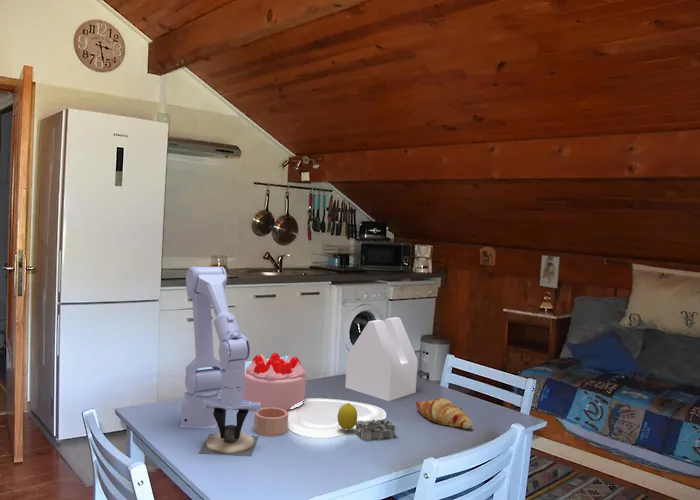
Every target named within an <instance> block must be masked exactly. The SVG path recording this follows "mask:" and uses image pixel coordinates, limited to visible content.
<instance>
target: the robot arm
mask: <svg viewBox="0 0 700 500" xmlns="http://www.w3.org/2000/svg"><path fill="white" fill-rule="evenodd" d="M227 274H228V273H227V270H226V269H225V268H224V267H223V266H222V265H221V266H190V267H189V268H188V269H187V272H186V275H185V283H186V284H185V285H186V287H185V288H186V295H187V297H188V298H190V299H191V301H192V313H193V327H194V328H193V332H194V345H195V346H194V349H195V350H194V351H195V357H194V359H193V360H192V361H191V362H190V363H188V365H186V367H185V368H186V369H185V371H186V372H185V378H184V379H185V380H184V381H185V388H186V392H184V394H183V397H182V402H181V413H180V414H181V416H180V417H181V418H180V419H181V421H180V426H179V427H180V428H185V429H186V428H187V429H203V430H204V429H205V430H206V429H207V430H215V429H216V428H217V427H218V431H219V433H220V437H221V438H222V439H223V438H224V427H225V426H226V416H227V414H226V413H227V411H237V413H236V417H235V418H236V426H237V429H236V439H239V437H240V433H242V432H241V431H242V427H243V425H244V422H245V420H246V417H247V415H248V413H249V412H254V413H255V412H260V409H261V403H259V402H252V401H246V400H243V396H244V376H245V370H246V360H248V359H249V358H250V355H251V346H250V341H249V339H248V338H247V337H246V336H245V335H244V333H241V330H240V327H239V324H238V321H237V318H236V315H235V314H234V313H231V312H230V309H229V305H228V300H227V295H226V292H225V289H226V286H227V281H228V275H227ZM212 310H213V312H214V315H215V319H213V320H214V321H213V320H212V318H213V317H212ZM212 321H213V322H212ZM213 326H214V328H215V331H216V336H217V338H218V341H219V347H218V356H219V359H218V358H217V357H215V352H214V337H213V336H214V335H213ZM203 368H205V369H203ZM219 394H220V398H219Z"/></svg>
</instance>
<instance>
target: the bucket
mask: <svg viewBox="0 0 700 500" xmlns="http://www.w3.org/2000/svg"><path fill="white" fill-rule="evenodd" d="M253 418H254V420H253V431H254V432H255V433H256V434H258V435H262V436H265V437H267V436H269V437H273V436H274V437H275V436H276V437H277V436H282V435H284V434H286V433H287V432H288V429H289V427H288V426H289V412H288V410H287V411H286V410H284V409H280V408H272V407H268V408H261V409H260V412H255V411H254V417H253Z"/></svg>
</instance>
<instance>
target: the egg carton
mask: <svg viewBox="0 0 700 500" xmlns="http://www.w3.org/2000/svg"><path fill="white" fill-rule="evenodd" d="M396 430H398V428H397V427H396V426H395V424H393V422H391V421H390V420H389V419H388V418H387V417H385V418H381V419H376V420H375V419H372V420H357V422H356V424H355V435H356V436H360V439H361V440H362V441H369V442H370V441H372V440H375V439H376V440H382V439H384V438H388V439H393V438H394V437H396Z"/></svg>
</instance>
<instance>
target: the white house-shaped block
mask: <svg viewBox="0 0 700 500" xmlns="http://www.w3.org/2000/svg"><path fill="white" fill-rule="evenodd" d="M416 355H417V354H416V353H415V350H414V347H413V345H412V343H411V340H410V338H409V336H408V333H407V331H406V329H405V326H404V324H403V321H402V319H401V317H397V316H394V317H389V318H385V319H384V320H382V319H376V320H375V319H374V320H369V321H367V323H366V325H365V326H364V328H363V330H362V331H361V333H360V335H359V336H358V337H357V339H356V341H355V342H354V344H353V345H352V347H351V348H350V350H349V352H348V354H347V355H346V370H345V371H346V372H345V386H344V387H345V388H346V389H349V390H352V391H355V392H358V393H362V394H365V395H368V396H372V397H374V398H377V399H380V400H384V401H387V402H391V401H394V400H398V399H400V398H403V397H405V396H409V395H412V394H416V392H417V378H418V377H417V376H418V375H417V374H418V364H419V363H418V362H419V361H418V358H417V356H416Z"/></svg>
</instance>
